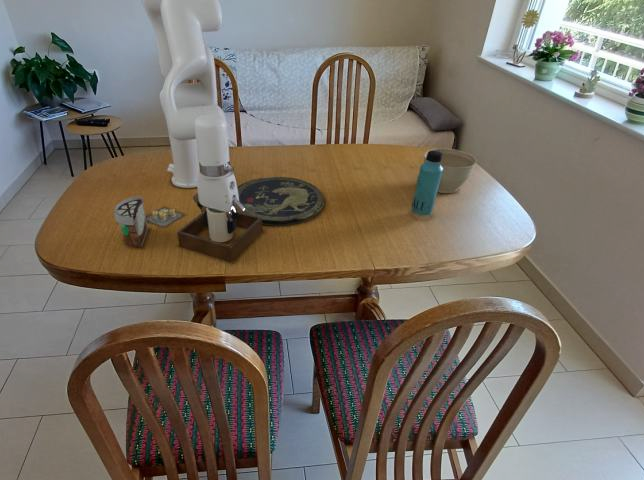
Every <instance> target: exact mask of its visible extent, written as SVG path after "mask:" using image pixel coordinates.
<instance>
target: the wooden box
mask: <svg viewBox="0 0 644 480" xmlns="http://www.w3.org/2000/svg"><path fill="white" fill-rule="evenodd" d="M236 212H237V211H236ZM236 227H238V228H239V227H240V228H243V229H245V230H244V231H243V232H242V233H241V234H240V235H239V236H238V237H237V238H236V239H235V240H233V242H232V243H231V244H229V245H228V244H225V243H222V242H215V241H213V240H211V239H208V238H204V237H201V236H197V235H198V234H199V233H200V232H202V231H203V230H204V229H205V228H206V227H205V221H204V214H202V213H200V214H198V215H197V216H196V217H194V219H192V220H191V221H189V222H188V223H186V225H184V226H183V227H182V228H180V229H179V230H178V231H176V234H177V240H178V245H179V246H178V247H181V248H185V249H188V250H190V251H194V252H197V253H200V254H203V255H206V256H211V257H213V258H216V259H219V260H223V261H226V262H228V263H233V262H234V261H235V260H236V259H237V258H238V257H240V255H241V254H242V253H243V252H244V251H245V250H246V248H248V247H249V246H250V245H251V243H253V242H254V241H255V240H256V239H257V238H258V236H260V234H262V233H263V231H264V230H263V224H262V218H261V217H257V216H253V215H250V214H246V213H242V214H240V215H239V216H238V217H237V218H236Z"/></svg>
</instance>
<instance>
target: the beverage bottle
mask: <svg viewBox="0 0 644 480" xmlns="http://www.w3.org/2000/svg"><path fill="white" fill-rule="evenodd" d="M431 150H432V151H429V150H428V151H429V152H428V154H427V157H426V160H428V161H427V162H425V163H424V162H423V163H422V164H420V167H419V172H418V175H417V179H416V184H415V189H414V194H413V198H412V202H411V211H412V213H414V214H415V215H418V216H430V215H432V213H433V211H434V207H435V203H436V199H437V195H438V192H437V190H438V186H439V183H440V179H441V175H442V171H443V167H442V166H441V165H440V164H439V163H438V162H441V160H442V153H441V152H439V151H434V150H433V149H431Z"/></svg>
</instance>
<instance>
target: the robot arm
mask: <svg viewBox="0 0 644 480" xmlns="http://www.w3.org/2000/svg"><path fill="white" fill-rule="evenodd" d="M141 3H142V6H143V8H144V10H145V13H146V15H147V16H148V19H149V21H150V22H151V25H152V28H153V31H154V35H155V36H154V37H155V43H156V50H157V56H158V63H159V68H160V72H161V75H162V76H163V79H164V82H163V86H162V89H161V91H160V92H159V101H160V105H161V109H162V112H163V115H164V118H165V122H166V127H167V133H168V137H169V144H170V150H171V156H172V160H173V161H172V162H173V163H168V168H167V169H166V172H168V173H172V176H171V183H172V185H173V186H175V187H177V188H181V189H192V188H197V192H196V193H195V194H194V195H192V196H191V198H192V200H193V201H194V202H195V203H196V206H197V208H198V209H200V212H201V213H202V214H204V221H205V228H208V220H207V212H206V207H209V208H212V209H216V210H220V211H223V212H225V213H226V216H227V218H228V221H227V230H228V233H229V234H231V233H232V232H233V233H234V231H235V230H236V229H237V226H236V218H237V217H238V216H239V215H240V214H242V213H243V212H244V211H245V208H244V207H243V205H242V204H241V203H240V202H239V196H238V189H237V187H238V184H237V180H236V177H235V174H234V170H235V169H234V166H232V165H231V161H230V147H229V146H230V145H229V134H228V123H227V117H226V113H225V111H224V110H223V109H222V107H220V105H218V91H217V89H218V88H217V75H216V63H215V58H214V54H213V51H212V49H211V48H210V47H209V46H208V45H207V44H205V43H204V39H203V34H202V33H209V32H219V30H221V28H222V27H223V26H222V25H223V11H222V7H221V3H220V1H219V0H141ZM193 80H195V81H196V80H199V82H190V83H189V82H188V83H187V82H186V83H182V82H183V81H193ZM234 206H235V207H236V209H237V212H236V210H235V208H234ZM230 212H231V213H232V215H231V213H230ZM201 213H200V214H201Z"/></svg>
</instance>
